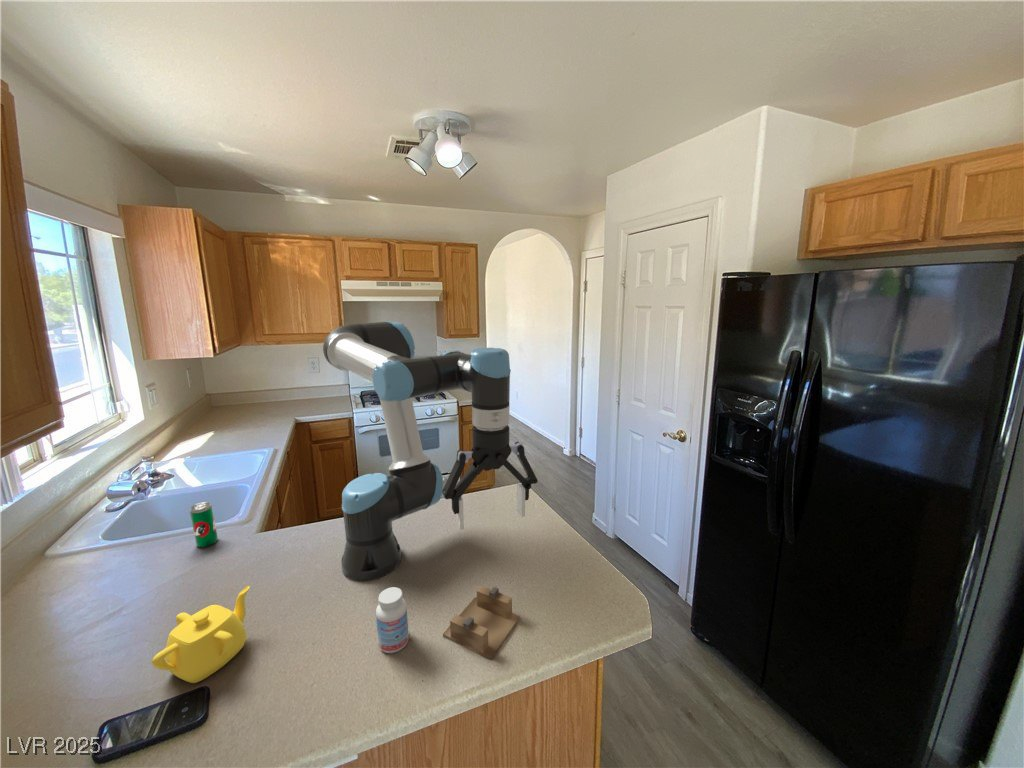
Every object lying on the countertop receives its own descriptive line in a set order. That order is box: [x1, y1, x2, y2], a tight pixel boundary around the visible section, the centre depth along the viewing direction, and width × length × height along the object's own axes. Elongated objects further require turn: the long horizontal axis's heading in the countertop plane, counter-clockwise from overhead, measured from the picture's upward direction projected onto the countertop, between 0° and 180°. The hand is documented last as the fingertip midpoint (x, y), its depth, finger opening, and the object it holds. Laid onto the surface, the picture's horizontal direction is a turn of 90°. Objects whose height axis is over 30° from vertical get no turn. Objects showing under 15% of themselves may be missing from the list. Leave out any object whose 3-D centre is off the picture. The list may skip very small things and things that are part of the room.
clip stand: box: [442, 585, 521, 661], centre depth 87 cm, size 12×12×6 cm
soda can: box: [189, 501, 219, 548], centre depth 116 cm, size 5×5×12 cm
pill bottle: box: [375, 586, 409, 654], centre depth 83 cm, size 6×6×11 cm
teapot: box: [151, 585, 251, 684], centre depth 79 cm, size 14×13×10 cm
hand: (491, 519), depth 87 cm, fingers open, 13 cm apart
